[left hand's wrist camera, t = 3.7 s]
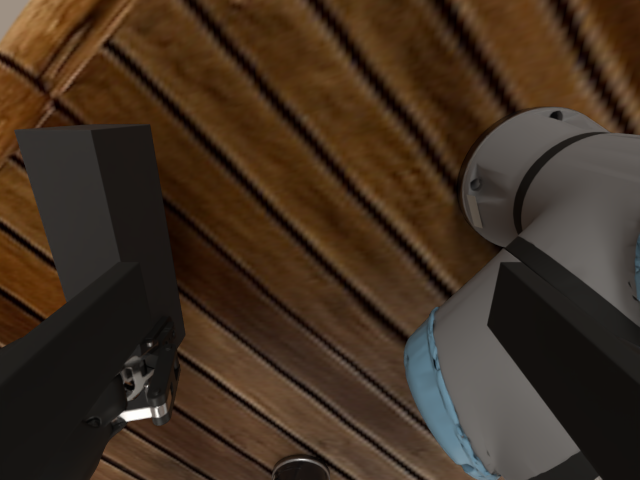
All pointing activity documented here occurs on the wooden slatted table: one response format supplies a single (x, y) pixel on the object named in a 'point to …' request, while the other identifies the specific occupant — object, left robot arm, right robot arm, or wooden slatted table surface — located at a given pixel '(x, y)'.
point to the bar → (103, 208)
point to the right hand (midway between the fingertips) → (139, 324)
